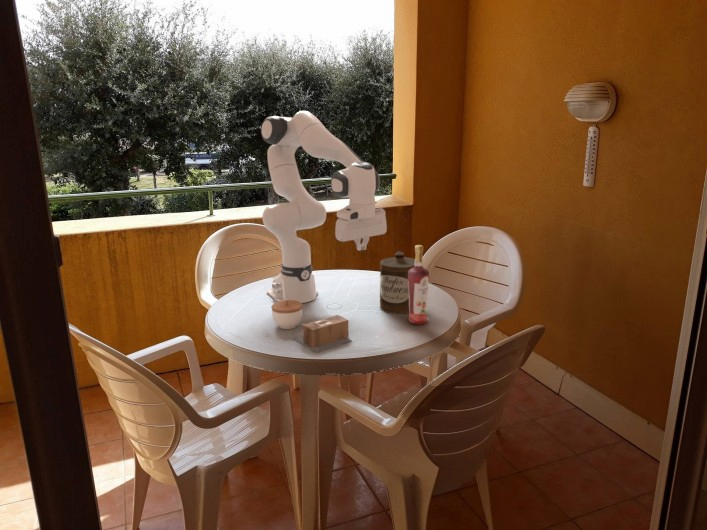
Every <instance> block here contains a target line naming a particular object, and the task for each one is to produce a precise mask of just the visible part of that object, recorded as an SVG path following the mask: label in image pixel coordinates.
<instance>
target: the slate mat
mask: <svg viewBox="0 0 707 530" xmlns="http://www.w3.org/2000/svg"><path fill="white" fill-rule="evenodd" d="M292 340H293V341H295V342H298V343H299V344H301V345H303V346H304V347H305V348H308V349H310V350H311V351H313V352H315V353H319V352H322V351H325V350H329V349H331V348H336V347H337V346H341V345H344V344H347V343H350V342H352V341H353V340H351V339H350V338H349V337H346V338H343V339H340V340H337V341H333V342H330V343H327V344H324V345H320V346H317V347H314V348H313V347H311V346H310V345H308V344H306V343H305V342H303V334H302V335H297V336H295V337H292Z"/></svg>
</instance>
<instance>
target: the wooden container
mask: <svg viewBox="0 0 707 530" xmlns="http://www.w3.org/2000/svg"><path fill="white" fill-rule="evenodd" d="M394 256H395V257H394ZM394 256H393V257H387V258H383V259H381V260H380V262H379V269H380V270H379V271H380V272H379V273H380V274H379V275H380V276H379V278H380V279H379V308H380V310H382V311H383V312H386V313H390V314H396V315H397V314H399V315H400V314H401V315H402V314H403V315H404V314H409V290H408V271H409V270H410V269H411V268H414V265H415V258H412V257H408V256H407V257H406V256H405V253H404V252H402V251H397V252H395V253H394Z"/></svg>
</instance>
